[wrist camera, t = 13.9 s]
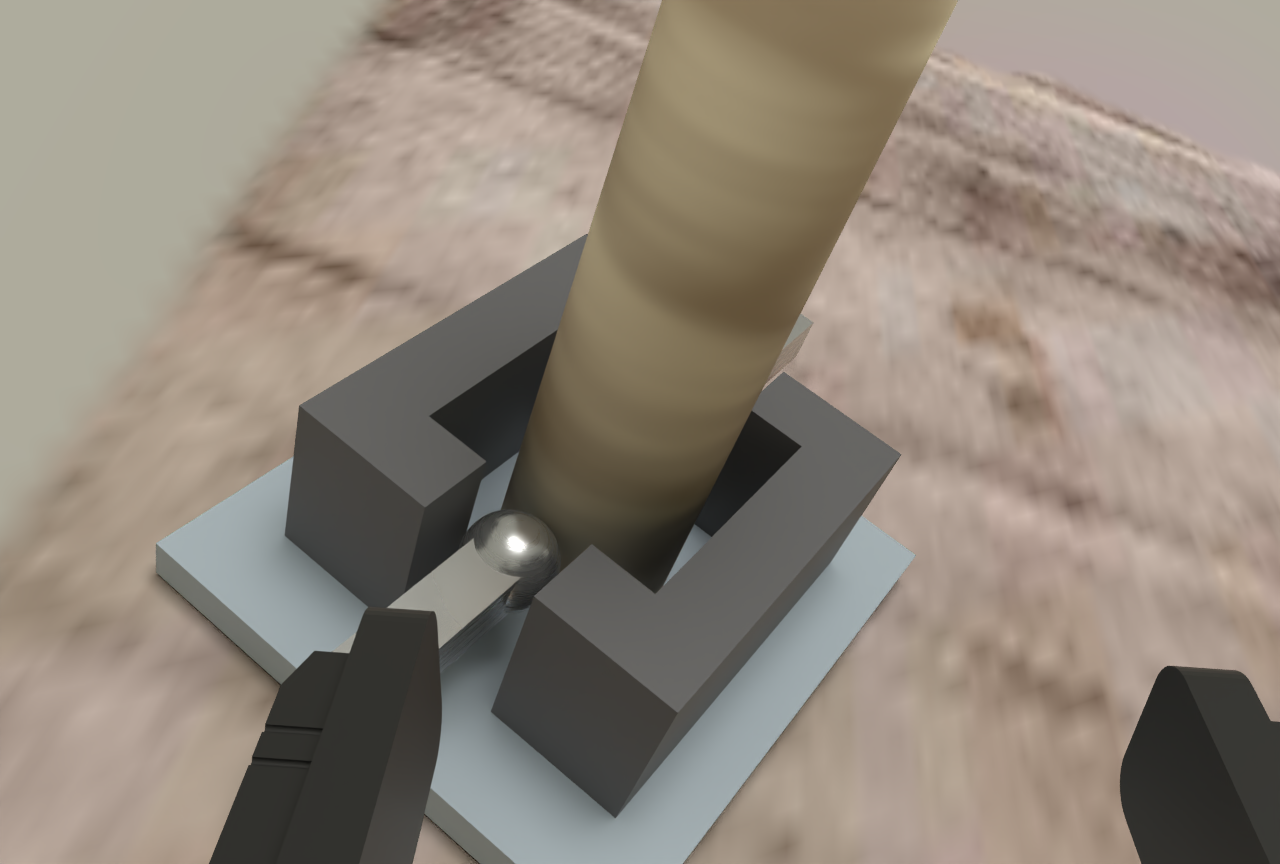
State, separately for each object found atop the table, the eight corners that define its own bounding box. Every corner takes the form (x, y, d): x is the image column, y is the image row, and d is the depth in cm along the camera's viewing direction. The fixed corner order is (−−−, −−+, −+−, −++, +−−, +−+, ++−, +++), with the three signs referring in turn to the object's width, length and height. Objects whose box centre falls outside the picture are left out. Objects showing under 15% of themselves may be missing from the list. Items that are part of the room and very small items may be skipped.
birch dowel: (566, 458, 29) (876, -401, 16) (697, 559, 28) (1133, -274, 15) (454, 547, 26) (725, -405, 14) (596, 661, 25) (1028, -251, 13)
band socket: (544, 318, 33) (588, 173, 30) (898, 578, 30) (992, 450, 27) (156, 572, 25) (154, 407, 21) (601, 972, 22) (683, 857, 18)
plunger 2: (679, 490, 27) (707, 431, 26) (611, 438, 27) (635, 378, 26) (802, 376, 31) (832, 319, 30) (741, 332, 31) (768, 275, 30)
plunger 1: (494, 533, 25) (514, 471, 23) (568, 593, 24) (592, 533, 23) (273, 713, 21) (281, 651, 19) (356, 789, 20) (370, 731, 19)
